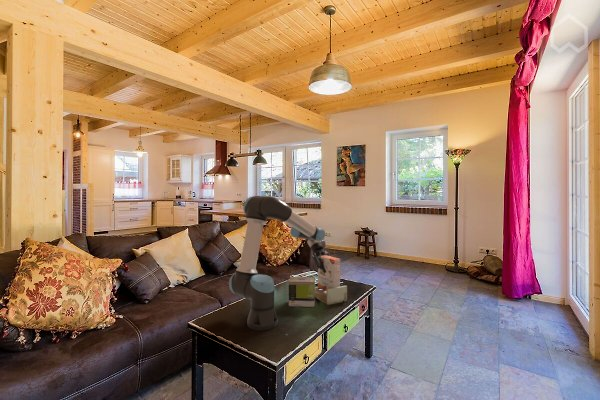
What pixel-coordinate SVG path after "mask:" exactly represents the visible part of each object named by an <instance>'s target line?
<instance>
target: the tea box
mask: <svg viewBox="0 0 600 400" xmlns="http://www.w3.org/2000/svg"><path fill="white" fill-rule="evenodd" d="M315 287H316V278H315V276H290V277H289V279H288V306H289V307H307V308H308V307H309V308H315V303H316V298H315Z"/></svg>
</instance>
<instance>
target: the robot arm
mask: <svg viewBox="0 0 600 400" xmlns="http://www.w3.org/2000/svg"><path fill="white" fill-rule="evenodd" d="M242 208H243V209H242V210H243V213H244V214H245V220H246V222H247V225H246V229H245V236H244V241H243V246H242V251H241V257H240V262H239V266H238V267H237V268H236V269H235V272H234V273H232V275H231V276H230V277H229V282H228V286H229V287H228V288H229V290H230V292H231V293H232V294H234V295H235V296H237V297H238V298H239V297H240V298H244V299H246V300H249V301H250V311H249V313H248V316H247V321H246V326H247V327H248V328H249V329H251V330H253V331H259V332H260V331H268V330H271V329H274V328H275V327H277V325H278V321H279V320H278V316H277V311H276V310H275V281H274V278H273V277H271V276H269V275H267V274H262V273H261V274H260V273H258V271H257V262H258V257H259V251H260V247H261V241H262V240H261V239H262V235H263V234H262V233H263V229H264V225H265V224H266V223H267V221H268V219H273V220H277V221H279V222H281V223H286V224H287V225H289V226H290V227H291V229H290V233H289V234H290V236H291V237H292V238H295V239H303V240H305V241H306V243H307V245H308V246H309V248H310V250H311V252H312V254H311V258H312V259H313V260H314V263H315V265H316V267H317V269H318V268H320V269H322V270H323V272H324V273H325V275H326V276H327V278H329V277H330V276H331V275H330V274H329V272H328V270H327V268H326V267H324V264H323V262H322V260H321V258H319V259H318V256H322V255H327V256H331V257H332V255H331V254H330V252H329V250H325V249H324V246H323V243H321V242H322V241H323V240H324V239H325V236H326V231H325V229H323V228H320V227H316V226H315V225H313V224H312V223H310V222H309V221H308V220H307V219H305V217H303V216H301V215H300V214H298V213H297V212H295V211H294V210H293V208H292V207H291V206H290V205H289V204H287V203H286V202H284V201H282V200H281V199H279V198H277V197H275V196H267V195H266V196H264V195H252V196H250V197H248V198H247V199H245V200H244V203H243V205H242Z"/></svg>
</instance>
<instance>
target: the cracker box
mask: <svg viewBox="0 0 600 400" xmlns="http://www.w3.org/2000/svg"><path fill="white" fill-rule="evenodd" d="M319 258H321V260H322V262H323V264H324V267H326V268H327V270H328V272H329V274H330V275H331V276H330V277H329V278H327V276H326V275H325V273H324V272H323V270H322V269H320V268H318V267H317V288H318V289H319V290H321V291H323V292H324V291H327V289H330V288H336V287H341V264H342V263H341V258H338V257H335V256H332V255H331V256H327V255H322V256H318V259H319Z"/></svg>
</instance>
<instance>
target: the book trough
mask: <svg viewBox="0 0 600 400" xmlns="http://www.w3.org/2000/svg"><path fill="white" fill-rule="evenodd" d="M315 299H317V300H318V301H320V302H322V303H323V304H325V305H327V306H329V305H334V304H335V305H336V304H339V303H344V302H347V301H348V286H347V285H342V286H341V285H340V287H336V288H330V289H327V291H324V290H322V289H319V288H318V287H316V286H315ZM343 301H344V302H343Z"/></svg>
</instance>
